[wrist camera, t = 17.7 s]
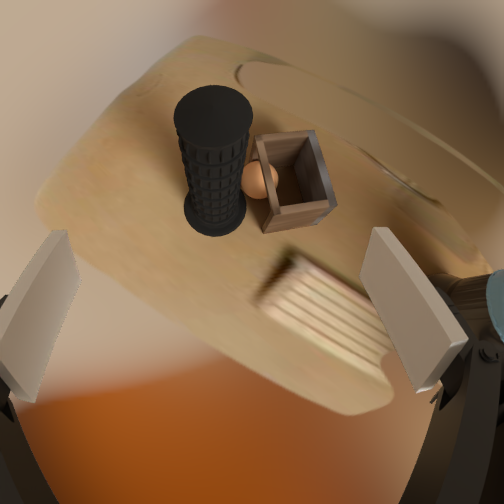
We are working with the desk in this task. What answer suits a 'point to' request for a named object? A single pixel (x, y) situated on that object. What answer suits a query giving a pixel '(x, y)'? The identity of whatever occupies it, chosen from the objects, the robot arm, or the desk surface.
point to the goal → (308, 175)
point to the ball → (256, 180)
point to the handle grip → (214, 156)
